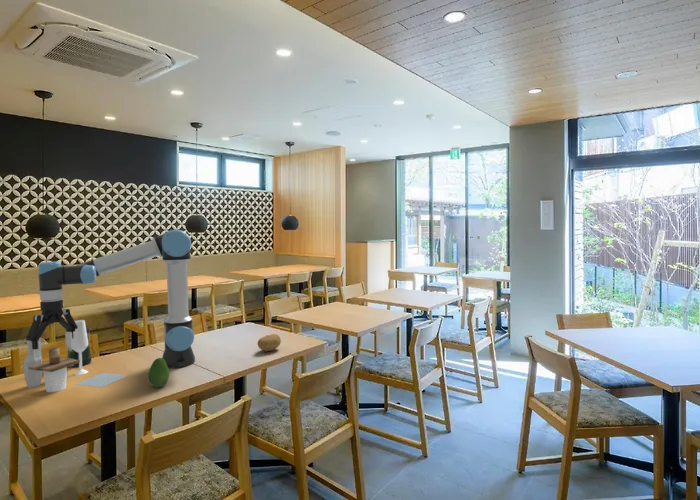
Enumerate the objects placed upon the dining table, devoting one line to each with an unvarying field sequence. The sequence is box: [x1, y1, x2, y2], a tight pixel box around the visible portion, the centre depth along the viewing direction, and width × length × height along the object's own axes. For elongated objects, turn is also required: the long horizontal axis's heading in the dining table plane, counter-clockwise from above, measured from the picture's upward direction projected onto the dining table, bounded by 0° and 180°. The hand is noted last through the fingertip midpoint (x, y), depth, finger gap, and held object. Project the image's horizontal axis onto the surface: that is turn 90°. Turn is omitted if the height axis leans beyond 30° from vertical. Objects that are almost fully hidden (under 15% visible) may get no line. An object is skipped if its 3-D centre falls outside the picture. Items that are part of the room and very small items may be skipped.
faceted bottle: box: [22, 340, 43, 389], centre depth 176 cm, size 6×6×22 cm
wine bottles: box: [65, 325, 92, 368], centre depth 203 cm, size 10×8×19 cm
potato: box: [257, 333, 282, 352], centre depth 223 cm, size 10×14×8 cm
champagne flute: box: [72, 319, 89, 376], centre depth 190 cm, size 7×7×24 cm
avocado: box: [147, 357, 170, 388], centre depth 174 cm, size 8×8×12 cm
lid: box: [29, 347, 80, 372], centre depth 171 cm, size 12×12×7 cm
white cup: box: [42, 367, 68, 393], centre depth 172 cm, size 8×8×10 cm
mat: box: [76, 372, 128, 388], centre depth 182 cm, size 14×14×1 cm
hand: (54, 352), depth 171 cm, fingers open, 13 cm apart
